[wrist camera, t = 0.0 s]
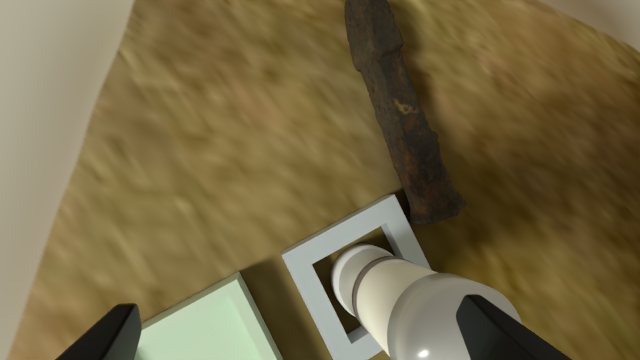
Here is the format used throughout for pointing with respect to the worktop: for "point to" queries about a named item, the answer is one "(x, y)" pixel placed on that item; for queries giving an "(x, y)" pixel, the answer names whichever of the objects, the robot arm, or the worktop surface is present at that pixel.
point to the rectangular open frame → (299, 257)
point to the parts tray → (209, 327)
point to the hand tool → (400, 112)
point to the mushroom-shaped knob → (406, 303)
